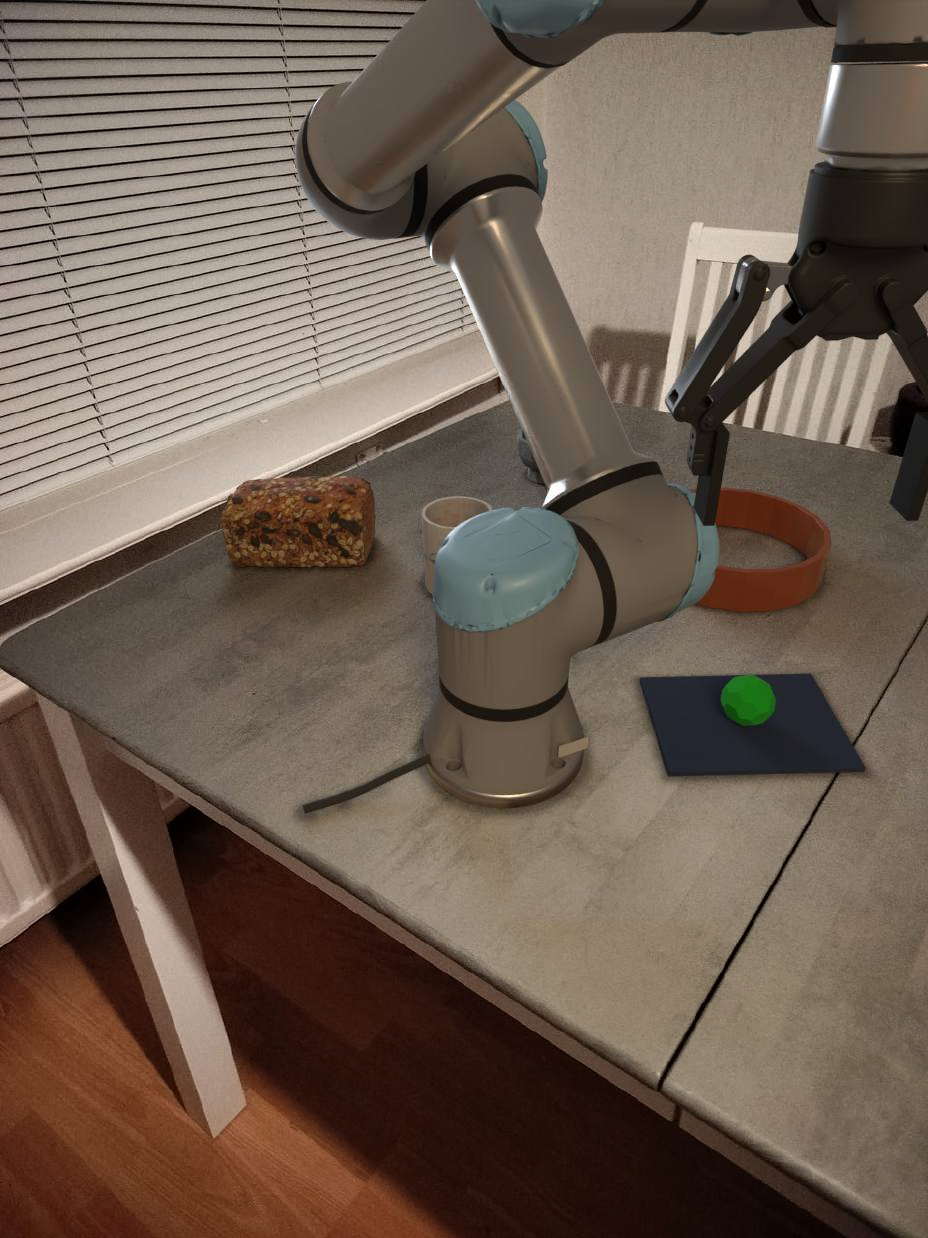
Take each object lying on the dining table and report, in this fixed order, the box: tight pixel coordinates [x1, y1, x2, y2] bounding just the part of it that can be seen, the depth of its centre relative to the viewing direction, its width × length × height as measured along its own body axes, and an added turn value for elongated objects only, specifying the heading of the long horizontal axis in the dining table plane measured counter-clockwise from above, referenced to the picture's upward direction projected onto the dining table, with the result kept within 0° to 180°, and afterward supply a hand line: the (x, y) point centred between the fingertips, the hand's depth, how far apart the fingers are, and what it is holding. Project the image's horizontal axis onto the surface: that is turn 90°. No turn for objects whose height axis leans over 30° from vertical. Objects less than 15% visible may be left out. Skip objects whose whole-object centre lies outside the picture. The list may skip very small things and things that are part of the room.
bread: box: [220, 475, 377, 568], centre depth 109 cm, size 19×11×10 cm, turn 85°
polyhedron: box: [721, 674, 776, 726], centre depth 80 cm, size 5×5×5 cm
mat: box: [639, 672, 867, 777], centre depth 81 cm, size 18×14×1 cm
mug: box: [421, 495, 494, 595], centre depth 100 cm, size 12×9×10 cm
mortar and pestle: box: [516, 428, 546, 485], centre depth 127 cm, size 11×9×12 cm
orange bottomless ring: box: [690, 487, 833, 613], centre depth 105 cm, size 23×23×6 cm
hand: (803, 514), depth 56 cm, fingers open, 13 cm apart
